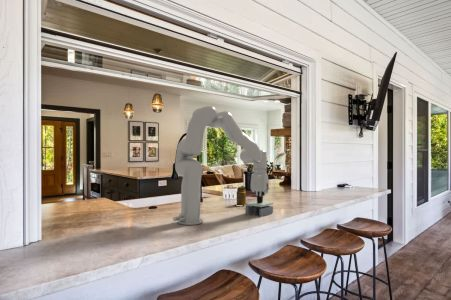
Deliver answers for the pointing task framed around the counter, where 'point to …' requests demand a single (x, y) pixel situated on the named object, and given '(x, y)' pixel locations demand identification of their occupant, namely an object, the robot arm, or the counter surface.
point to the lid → (259, 204)
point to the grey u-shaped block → (262, 211)
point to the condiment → (241, 196)
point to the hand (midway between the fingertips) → (259, 202)
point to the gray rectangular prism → (256, 209)
